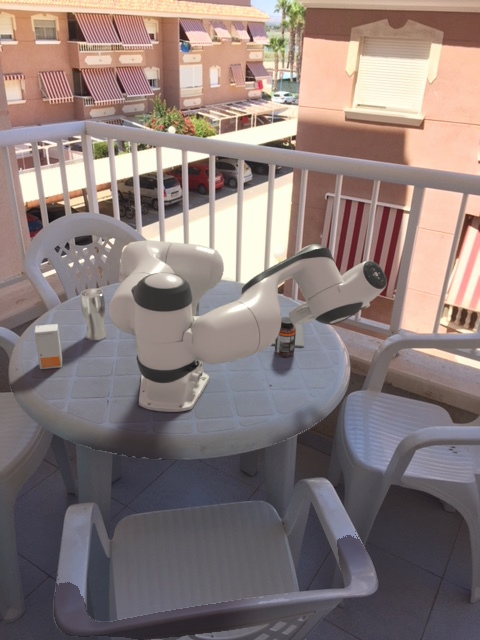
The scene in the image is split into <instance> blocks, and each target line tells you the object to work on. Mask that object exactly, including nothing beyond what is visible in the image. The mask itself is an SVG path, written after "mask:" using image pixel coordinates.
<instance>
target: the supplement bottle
mask: <svg viewBox="0 0 480 640" xmlns="http://www.w3.org/2000/svg"><path fill="white" fill-rule="evenodd" d="M295 337H296V327H295V326H294V325H293V324H292V323H291V320H290V317H289V316H281V328H280V331H279V334H278V336H277V338H276V340H275V345H274V353H275V354H276V355H278V356H279V357H284V358H285V357H286V358H287V357H290V356H293V355H294V353H295V348H296V347H295Z"/></svg>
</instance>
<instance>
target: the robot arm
mask: <svg viewBox="0 0 480 640" xmlns="http://www.w3.org/2000/svg"><path fill="white" fill-rule="evenodd" d="M120 255H121V256H120V266H121V270H122V273H123V275H124V276H125V279H124V280H123V281H122V282H121V283H120V285H119V286H118V288H116V290H115V292H114V293H113V296H112V298H111V300H110V302H109V307H108V316H109V318H110V321H111V322H112V323H113V325H114V326H115V328H116V329H118V330H119V331H121V332H124V333H126V334H129V335H134V336H135V337H134V338H135V339H134V340H135V346H136V347H135V348H136V353H137V354H136V361H137V366H138V369H139V372H140V375H141V377H140V386H139V387H140V389H139V396H138V406H140V407H142V408H144V409H147V410H150V411H154V412H155V411H157V412H166V413H167V412H168V413H177V412H178V413H179V412H185V411H189V410H192V409H193V408H194V407H195V405H196V403H197V402H198V400H199V398H200V397H201V395H202V393H203V392H204V390H205V388H206V387H207V384H208V383H209V382H210V375H209V374H207V373H205V372H204V364H208V365H218V364H224V363H225V364H226V363H230V362H234V361H239V360H241V359H245V358H248V357H250V356H253V355H255V354H257V353H259V352H262V351H263V350H265V349H268V348H269V347H271V346H273V345H272V344H273V343H274V341H275V340H276V338H277V336H278V334H279V331H280V328H281V318H282V312H281V311H282V310H281V307H280V306H281V305H280V302H279V294H278V293H279V291H278V288H279V285H281V284H283V283H284V282H286V281H288V280H290V279H293V280H294V281H295V283H296V284H297V286H298V288H299V290H300V292H301V294H302V296H303V298H304V300H305V302H303V303H301V304H298V305H297V306H295V307H294V308H293V309H291V310H289V312H288V317H290V320H291V323H292V324H293V325H297V324H305V323H306V324H308V323H313V322H315V321H316V322H318V323H321V324H324V325H329V326H332V325H336V324H340V323H342V322H344V321H346V320H348V319H350V318H351V317H352V316H354V315H356V314H357V313H359V312H360V311H362V310H365V309H367V308H369V307H370V306H371V304H370V302H372V301H373V300H374V299H376V298H377V297H378V296H379V295H380V294H381V293H382V292H383V291H384V290H385V289H386V287H387V284H388V283H387V282H388V279H387V276H386V273H385V271H384V270H383V268H382V267H381V266H380V265H379V264H378V263H377V262H375V261H373V260H366V261H363V262H360V263H359V264H357V265H354V266H353V267H352V268H350V269H349V270H347V271H346V272H344V273H343V274H341V273H340V271H339V269H338V267H337V265H336V263H335V259H334V257H333V254H332V252H331V250H330V248H329V247H326V246H323V245H321V244H317V243H314V244H313V243H312V244H309V245H306V246H304V247H302V248H301V249H299V250H298V251H296V253H295V254H293V255H291V256H290V257H288V258H286V259H284V260H282V261H280V262H278V263H277V264H274V265H272V266H271V267H269V268H267V269H265V270H264V271H262V272H260V273H258V274H257V275H255V276H254V277H252V278H251V279H249V281H247V282H246V283H245V284H244V285H243V286H242V287H241V296H240V297H239V298H238V299H237V300H235V301H232V302H229V303H226V304H224V305H221V306H218V307H216V308H214V309H211V310H210V311H208V312H206V313H205V314H203V315H199V316H195V315H196V308H197V305H198V302H199V303H200V300H201V299H202V297H203V296H204V295H205V294H206V293H208V292H209V291H210V290H212V289H213V288H215V287H216V286H218V284H219V283H220V282H221V280H222V277H223V275H224V270H225V265H224V260H223V258H222V255H221V253H220V252H219V251H218V250H217V249H214V248H212V247H208V246H204V245H200V244H194V243H193V244H192V243H182V242H173V241H172V242H170V241H161V240H149V239H147V240H138V241H131V242H129V243H128V244H127V245H126V246H125V247H124V249H123V250H122V253H121V254H120Z"/></svg>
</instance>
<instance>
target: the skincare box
mask: <svg viewBox="0 0 480 640" xmlns="http://www.w3.org/2000/svg"><path fill="white" fill-rule="evenodd" d="M34 338H35V346H36V351H37V359H38V364H39V369H40V370H48V369H57V368H63V355H62V353H63V352H62V347H61V340H60V338H61V337H60V331H59V324H58V323H55V324H44V325H35V326H34Z"/></svg>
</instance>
